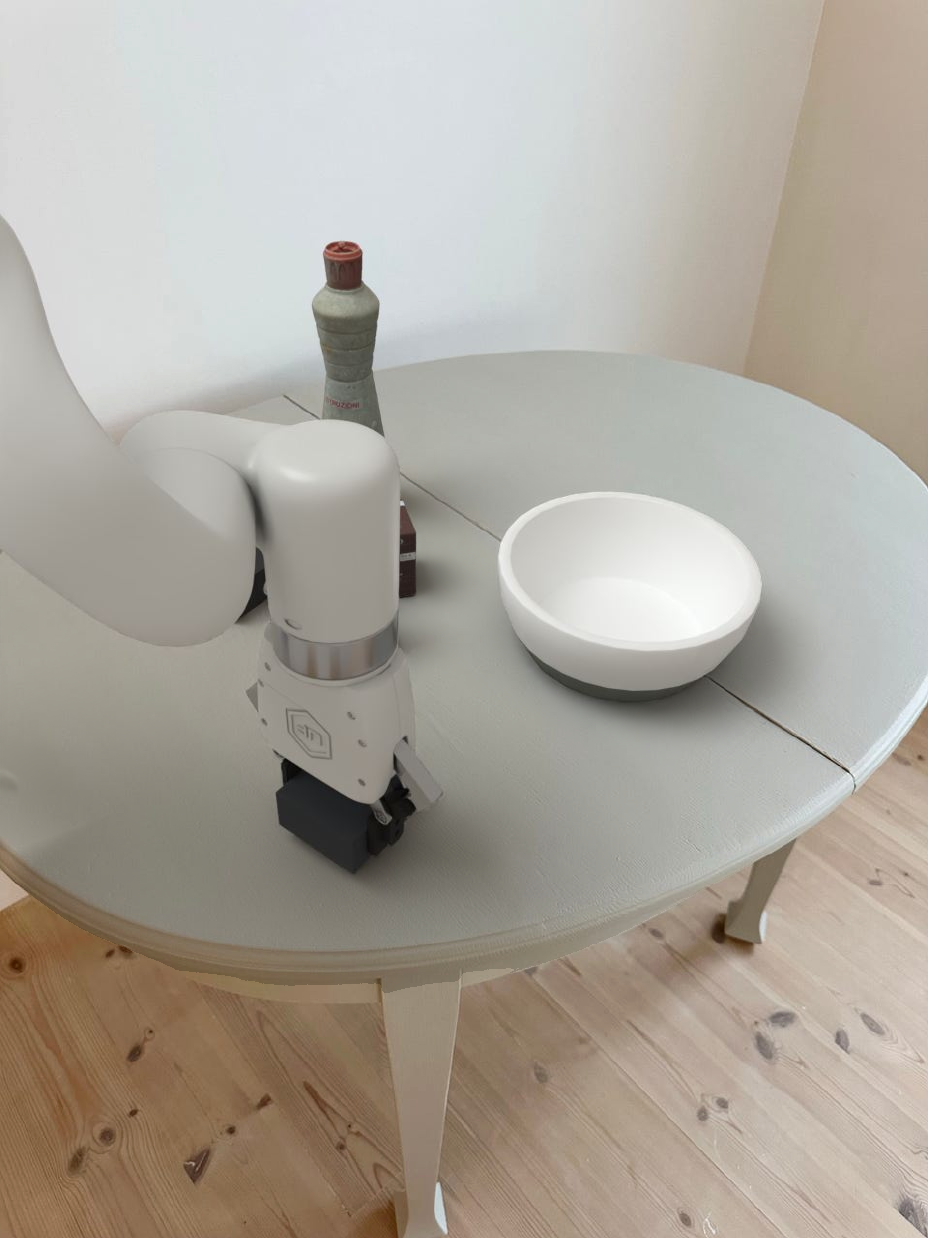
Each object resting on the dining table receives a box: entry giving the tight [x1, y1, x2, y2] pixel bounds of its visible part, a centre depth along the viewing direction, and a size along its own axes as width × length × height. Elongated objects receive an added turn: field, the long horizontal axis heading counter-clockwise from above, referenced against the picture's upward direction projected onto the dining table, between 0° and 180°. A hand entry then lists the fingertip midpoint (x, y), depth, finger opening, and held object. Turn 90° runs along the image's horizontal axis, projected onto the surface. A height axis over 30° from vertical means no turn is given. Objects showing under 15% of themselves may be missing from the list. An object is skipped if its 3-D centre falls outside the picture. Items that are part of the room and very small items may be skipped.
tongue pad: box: [275, 769, 408, 875], centre depth 68 cm, size 8×7×4 cm
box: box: [399, 498, 417, 598], centre depth 90 cm, size 6×6×7 cm
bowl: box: [497, 491, 764, 702], centre depth 84 cm, size 22×22×8 cm
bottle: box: [311, 240, 386, 439], centre depth 92 cm, size 9×9×28 cm
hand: (343, 813), depth 68 cm, fingers closed on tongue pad, 7 cm apart
